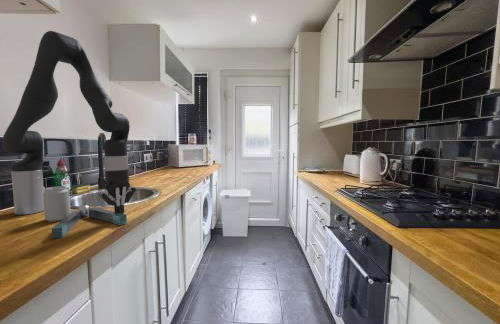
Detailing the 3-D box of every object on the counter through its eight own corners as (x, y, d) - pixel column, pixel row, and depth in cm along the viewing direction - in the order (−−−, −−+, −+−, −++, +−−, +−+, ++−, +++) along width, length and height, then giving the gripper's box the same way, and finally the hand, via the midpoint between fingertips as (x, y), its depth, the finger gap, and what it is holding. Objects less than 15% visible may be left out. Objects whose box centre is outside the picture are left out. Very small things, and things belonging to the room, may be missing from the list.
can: (73, 215, 93) (71, 184, 93) (67, 220, 87) (65, 188, 86) (49, 217, 91) (47, 186, 90) (41, 223, 84) (38, 189, 83)
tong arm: (88, 216, 91) (88, 208, 91) (95, 214, 93) (95, 207, 93) (119, 225, 81) (119, 216, 81) (126, 223, 83) (126, 214, 83)
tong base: (76, 216, 92) (75, 206, 91) (90, 215, 93) (89, 204, 93) (52, 238, 70) (51, 225, 70) (70, 236, 72) (70, 223, 71)
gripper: (128, 166, 94) (130, 209, 95) (91, 169, 83) (95, 218, 84) (139, 167, 90) (142, 212, 91) (102, 171, 79) (106, 222, 80)
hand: (119, 215), depth 88 cm, fingers closed
